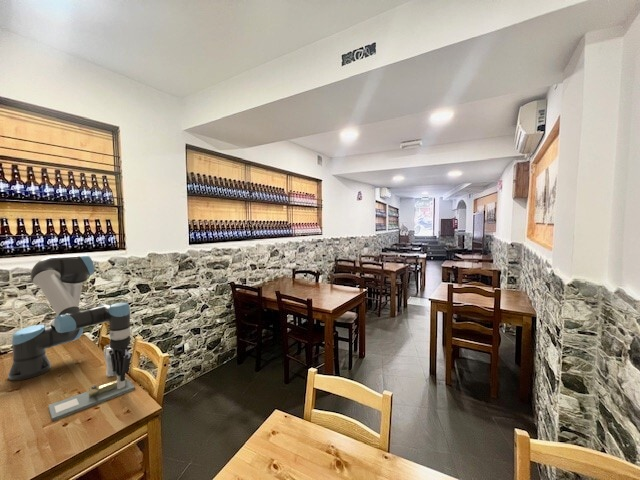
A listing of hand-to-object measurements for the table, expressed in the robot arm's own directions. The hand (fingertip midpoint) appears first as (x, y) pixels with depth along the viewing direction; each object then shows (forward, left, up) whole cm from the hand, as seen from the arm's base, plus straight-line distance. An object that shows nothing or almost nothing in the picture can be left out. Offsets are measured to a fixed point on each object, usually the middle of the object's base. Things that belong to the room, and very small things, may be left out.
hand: (121, 387), depth 125 cm
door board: (-5, -9, -3) cm, 10 cm away
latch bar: (-5, -4, -1) cm, 6 cm away
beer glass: (-23, +2, -3) cm, 23 cm away
